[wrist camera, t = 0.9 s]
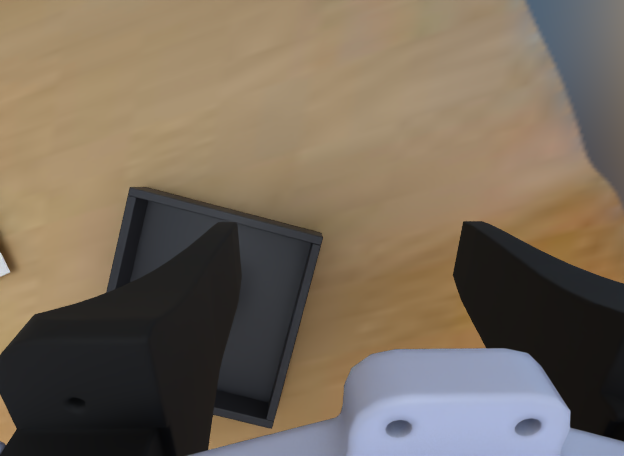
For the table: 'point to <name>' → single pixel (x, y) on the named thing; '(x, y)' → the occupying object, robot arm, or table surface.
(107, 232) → the table surface
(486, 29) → the table surface
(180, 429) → the robot arm
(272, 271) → the pan
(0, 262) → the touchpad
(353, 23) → the table surface
